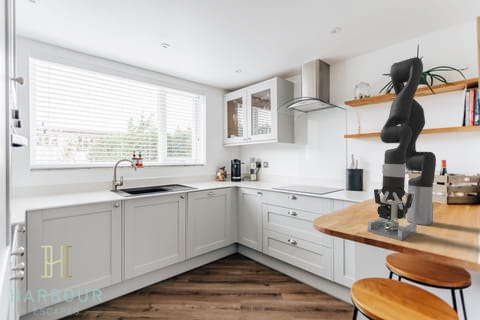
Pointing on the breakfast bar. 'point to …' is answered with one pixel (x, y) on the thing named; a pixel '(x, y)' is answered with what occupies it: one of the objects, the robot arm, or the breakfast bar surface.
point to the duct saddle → (399, 234)
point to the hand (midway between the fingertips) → (391, 216)
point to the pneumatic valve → (390, 214)
